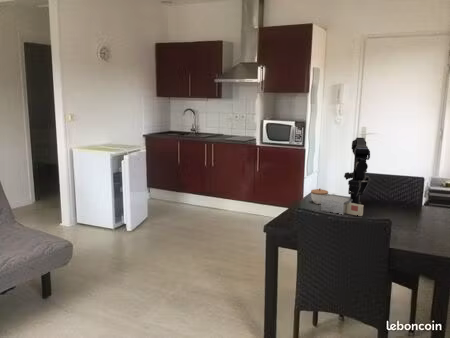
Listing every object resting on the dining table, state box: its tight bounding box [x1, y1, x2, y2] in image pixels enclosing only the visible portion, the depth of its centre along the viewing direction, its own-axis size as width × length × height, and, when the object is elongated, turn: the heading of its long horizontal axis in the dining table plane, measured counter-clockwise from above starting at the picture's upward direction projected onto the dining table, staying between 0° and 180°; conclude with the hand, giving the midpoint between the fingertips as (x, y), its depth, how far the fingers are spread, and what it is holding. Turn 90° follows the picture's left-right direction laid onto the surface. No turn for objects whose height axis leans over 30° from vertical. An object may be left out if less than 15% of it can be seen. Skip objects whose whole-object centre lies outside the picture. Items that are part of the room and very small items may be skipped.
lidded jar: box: [310, 188, 329, 205], centre depth 263 cm, size 11×11×9 cm
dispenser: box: [320, 194, 353, 216], centre depth 245 cm, size 11×15×8 cm
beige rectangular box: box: [345, 203, 364, 217], centre depth 242 cm, size 3×19×6 cm, turn 51°
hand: (358, 195), depth 235 cm, fingers open, 9 cm apart
